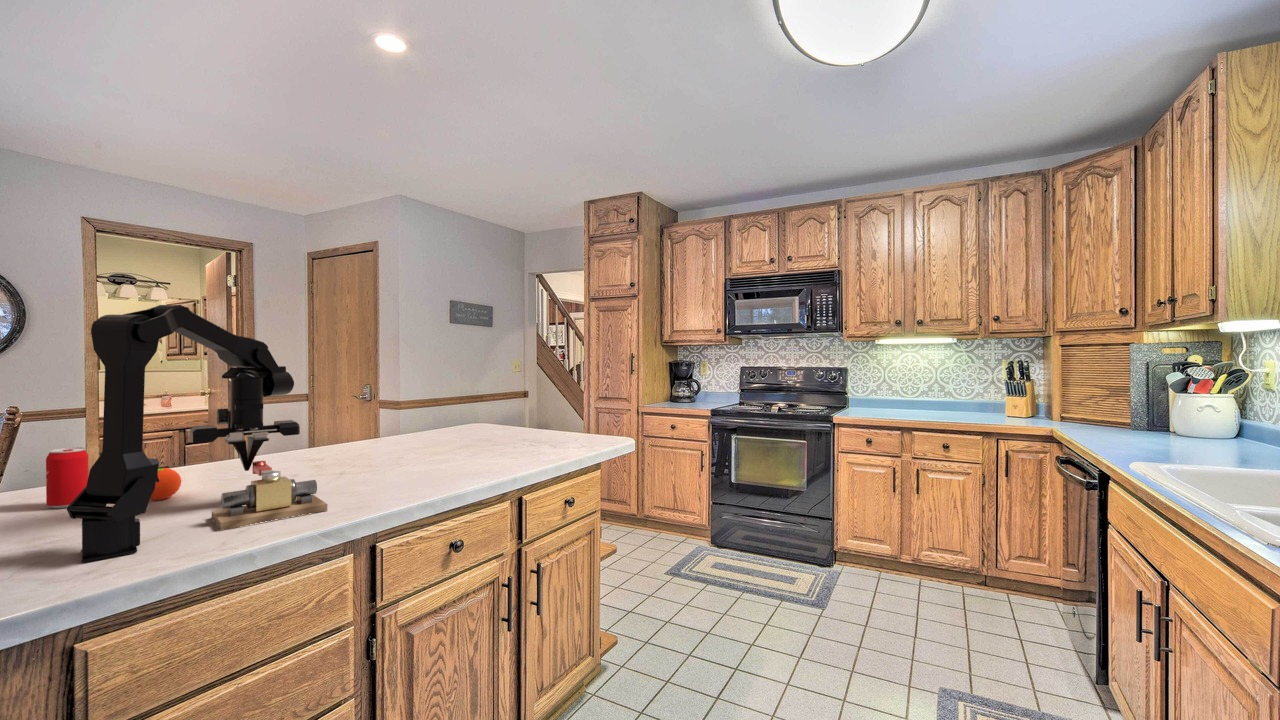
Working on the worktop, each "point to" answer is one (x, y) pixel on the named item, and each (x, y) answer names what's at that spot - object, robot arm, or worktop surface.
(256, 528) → the worktop surface
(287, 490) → the valve
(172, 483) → the clementine
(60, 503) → the beverage can
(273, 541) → the worktop surface
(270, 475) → the valve lever
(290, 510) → the mounting board
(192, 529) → the worktop surface
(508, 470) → the worktop surface
